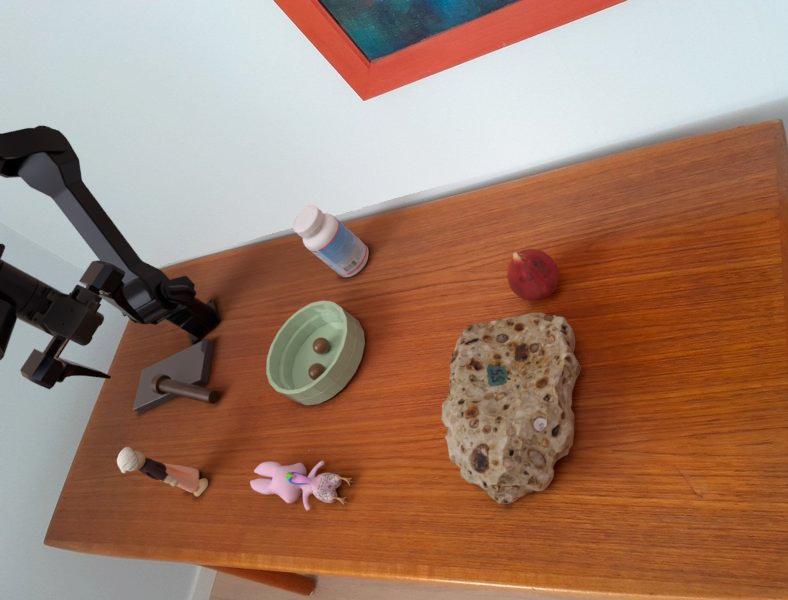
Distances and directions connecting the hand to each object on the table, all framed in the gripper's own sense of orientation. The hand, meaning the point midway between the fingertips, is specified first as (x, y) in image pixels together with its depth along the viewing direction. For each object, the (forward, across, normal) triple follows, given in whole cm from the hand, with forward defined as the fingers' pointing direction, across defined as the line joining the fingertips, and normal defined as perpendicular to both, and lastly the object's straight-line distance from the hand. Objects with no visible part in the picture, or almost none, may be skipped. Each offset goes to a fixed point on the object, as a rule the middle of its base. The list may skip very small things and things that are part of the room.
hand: (126, 349), depth 98 cm
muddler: (+10, -2, +4) cm, 11 cm away
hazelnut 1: (+11, +12, -26) cm, 30 cm away
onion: (+13, +26, -56) cm, 63 cm away
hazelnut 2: (+11, +8, -28) cm, 31 cm away
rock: (+13, +11, -60) cm, 63 cm away
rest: (+13, 0, +6) cm, 14 cm away
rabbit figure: (+13, -6, -34) cm, 37 cm away
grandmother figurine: (+13, -13, -13) cm, 23 cm away
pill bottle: (+13, +26, -21) cm, 36 cm away
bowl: (+13, +10, -26) cm, 31 cm away
